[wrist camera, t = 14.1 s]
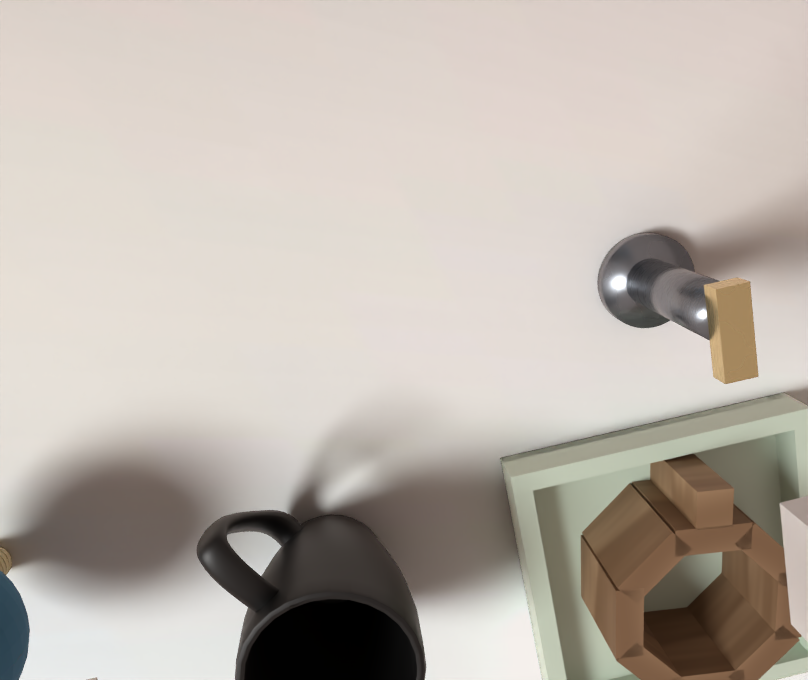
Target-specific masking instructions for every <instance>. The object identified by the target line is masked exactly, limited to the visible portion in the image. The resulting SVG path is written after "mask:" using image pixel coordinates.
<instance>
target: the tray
mask: <svg viewBox="0 0 808 680" xmlns="http://www.w3.org/2000/svg"><path fill="white" fill-rule="evenodd" d="M688 454H695V455H696V456H697V457H698V458H699V459H700V460H702V461H703V462H704V463H705V464H706V465H708V466H709V467H710V468H711V469H712V470H713V471H715V472H716V473H717V474H718V475H719V476H720V477H722V478H723V479H724V480H725V481H726V482H727V483H729V484H730V485H731V486H732V487H733V488H734V502H733V503H734V504H735V505H736V506H737V507H738V508H739V509H740V510H742V511H743V512H744V513H745V514H746V515H747V516H748V517H749V518H751V519H752V520H753V521H754V522H755V523H756V524H757V525H758V526H760V527H761V528H762V529H763V530H764V531H765V532H766V533H767V534H768V535H770V536H771V537H772V538H773V539H774V540H775V541H776V542H777V543H779V544H780V545H781V546H782V547H783V548H784V544H783V534H782V523H781V512H780V503H781V502H785V501H789V500H793V499H797V498H801V497H805V496H808V405H806V404H804V403H802V402H800V401H798V400H797V399H795V398H793V397H791V396H789V395H787V394H786V393H781V394H776V395H772V396H768V397H763V398H759V399H755V400H750V401H746V402H742V403H737V404H733V405H729V406H724V407H720V408H716V409H711V410H707V411H703V412H698V413H694V414H690V415H685V416H681V417H677V418H672V419H668V420H664V421H659V422H655V423H651V424H646V425H642V426H638V427H633V428H629V429H625V430H620V431H616V432H612V433H607V434H603V435H599V436H594V437H590V438H586V439H581V440H577V441H573V442H568V443H564V444H560V445H555V446H551V447H547V448H542V449H538V450H534V451H529V452H525V453H521V454H516V455H512V456H508V457H503V458H500V459H501V464H502V469H503V475H504V480H505V485H506V491H507V496H508V501H509V507H510V512H511V517H512V522H513V528H514V533H515V538H516V544H517V549H518V554H519V560H520V565H521V570H522V576H523V581H524V586H525V591H526V597H527V602H528V607H529V613H530V618H531V623H532V629H533V634H534V639H535V644H536V650H537V655H538V660H539V666H540V671H541V676H542V680H640V679H639V678H638V677H636V676H635V675H634V674H633V673H631V672H630V671H629V670H627V669H626V668H625V667H624V666H622V665H621V664H620V663H618V662H617V661H616V659H615V657H614V655H613V653H612V652H611V650H610V648H609V646H608V644H607V643H606V641H605V639H604V637H603V635H602V633H601V632H600V630H599V628H598V626H597V624H596V622H595V621H594V619H593V617H592V615H591V613H590V612H589V610H588V608H587V606H586V604H585V602H584V601H583V599H582V597H581V535H583V534H582V532H583V531H584V530H585V529H586V528H587V527H588V525H589V524H590V523H591V522H592V521H593V520H594V519H595V518H596V517H597V516H598V515H599V514H600V513H601V512H602V511H603V510H604V509H605V508H606V507H607V506H608V505H609V504H610V503H611V502H612V501H613V500H614V499H615V498H616V497H617V495H618V494H619V493H620V492H621V491H622V490H623V489H624V488H625V487H626V486H627V485H628V484H629V483H630V484H631V485H632V482H635V481H645V480H650V463H654V462H658V461H663V460H667V459H671V458H675V457H680V456H684V455H688ZM721 573H722V552H717V553H708V554H698V555H689V556H684V557H683V558H682V559H681V560H680V561H679V562H678V563H677V564H676V565H675V566H674V567H673V568H672V569H671V570H670V571H669V572H668V573H667V574H666V575H665V576H664V577H663V578H662V579H661V580H660V581H659V582H658V583H657V584H656V585H655V586H654V587H653V588H652V589H651V590H650V591H649V592H648V593H647V594H646V595H645V596H644V612H649V611H658V610H667V609H676V608H684V607H688V606H689V605H690V604H691V603H692V602H693V601H694V600H695V599H696V598H697V597H698V596H699V595H700V594H701V593H702V592H703V591H704V590H705V589H706V588H707V587H708V586H709V585H710V584H711V583H712V582H713V581H714V580H715V579H716V578H717V577H718V576H719V575H720V574H721ZM806 672H808V642H807V641H806V640H805V639H804V637H803V636H802V635H801V637H799V641H798V642H797V643H796V644H795V645H794V646H793V647H792V648H791V649H790V650H789V651H788V652H787V653H786V654H785V655H784V656H783V657H782V658H781V659H780V660H779V661H778V662H776V663H775V664H774V665H773V666H772V667H771V668H770V669H769V670H768V671H767V672H766V673H765V674H764V675H763V676H762V677H761V678H760V679H759V680H777V679H781V678H785V677H790V676H794V675H798V674H802V673H806Z"/></svg>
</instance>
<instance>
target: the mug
mask: <svg viewBox="0 0 808 680" xmlns="http://www.w3.org/2000/svg"><path fill="white" fill-rule="evenodd" d="M245 531H255V532H261V533H264V534H267V535H269V536H271V537H272V538H273V539H275V540H276V541H277V542H278V543H279V544H280V545H281V546H282V547H281V548H280V549H279V551H278V552H277V553H276V554H275V556H274V557H273V559H272V561H271V562H270V564H269V565H268V567H267V568H266V570H265V572H264V573H263V575H262V576H260V575H259V574H258V573H256V572H255V571H254V570H253V569H252V568H251V567H249V566H248V565H247V564H246V563H245V562H244V561H243V560H242V559H241V558H240V557H239V556H238V555H237V554H236V553H235V551H234V550H233V549H232V548H231V546H230V545H229V543H228V541H227V535H228V534H231V533H236V532H245ZM197 555H198V558H199V560H200V562H201V564H202V565H203V567H204V568H205V570H206V571H207V572H208V573H209V574H210V576H211V577H212V578H213V579H214V580H215V581H216V582H217V583H218V584H219V585H221V586H222V587H223V588H224V589H225V590H226V591H228V592H229V593H230V594H231V595H233V596H234V597H235V598H237V599H238V600H239V601H241V602H242V603H243V604H245V605H246V606H247V607H248V609H247V612H246V615H245V619H244V623H243V628H242V633H241V638H240V643H239V648H238V654H237V659H236V672H235V680H425V673H426V661H425V653H424V646H423V641H422V635H421V629H420V624H419V619H418V614H417V609H416V606H415V604H414V601H413V598H412V596H411V593H410V591H409V588H408V586H407V583H406V581H405V579H404V577H403V575H402V573H401V571H400V569H399V567H398V566H397V564H396V563H395V561H394V560H393V559H392V557H391V556H390V554H389V553H388V552H387V550H386V549H385V548H384V546H383V545H382V544H381V543H380V542H379V540H378V539H377V537H376V536H375V535H374V533H373V532H372V531H371V530H370V529H369V528H368V527H367V526H365V525H364V524H363V523H361V522H359V521H357V520H355V519H353V518H349V517H346V516H341V515H327V516H320V517H317V518H314V519H311V520H309V521H307V522H305V523H304V524H302V525H301V524H300V523H299V522H298V521H297V520H296V519H295V518H293V517H292V516H291V515H289V514H287V513H285V512H281V511H275V510H263V511H250V512H241V513H235V514H231V515H227V516H224V517H222V518H220V519H219V520H217V521H215V522H214V523H213V524H212V525H211V526H210V527H209V528H208V529H207V530H206V531H205V532H204V534H203V535H202V537H201V539H200V540H199V542H198V545H197Z"/></svg>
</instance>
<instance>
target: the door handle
mask: <svg viewBox="0 0 808 680" xmlns="http://www.w3.org/2000/svg"><path fill="white" fill-rule="evenodd" d="M598 291H599V296H600V298H601V301H602V303H603V305H604V306H605V308H606V309H607V310H608V312H609V313H610V314H611V315H613V316H614V317H615V318H617V319H619V320H620V321H622V322H624V323H625V324H628V325H630V326H633V327H638V328H651V327H656V326H659V325H662V324H664V323H666V322H668V321H670V320H671V321H673V322H675V323H677V324H679V325H681V326H683V327H685V328H687V329H689V330H691V331H693V332H694V333H696V334H698V335H700V336H702V337H704V338H706V339H708V340H710V348H711V358H712V367H713V377H714V378H716V379H718V380H719V381H721V382H723V383H724V384H728V383H733V382H737V381H741V380H746V379H750V378H754V377H758V366H757V355H756V344H755V333H754V322H753V310H752V299H751V288H750V282H749V281H746V280H743V279H740V278H732V279H728V280H724V281H718V280H715V279H712V278H709V277H707V276H704V275H701V274H698V273H695V271H694V266H693V263H692V260H691V258H690V256H689V254H688V252H687V251H686V250H685V249H684V247H683V246H682V245H680V244H679V243H678V242H677V241H675V240H673V239H671V238H669V237H666V236H662V235H659V234H655V233H639V234H635V235H631V236H629V237H627V238H625V239H623V240H621V241H620V242H619V243H617V244H616V245H615V246H614V247H613V248H612V249H611V250H610V251H609V252H608V254H607V255H606V257H605V258H604V260H603V262H602V264H601V267H600V270H599V274H598Z"/></svg>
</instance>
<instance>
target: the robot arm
mask: <svg viewBox="0 0 808 680" xmlns="http://www.w3.org/2000/svg"><path fill="white" fill-rule="evenodd" d="M780 512H781V523H782V534H783V544H784V555H785V565H786V576H787V587H788V597H789V608H790V618H791V625H792V626H793V627H794V628H795V629H796V630H797V631H798V632H799V633H800V634H801V635H802V636H803V637H804V639H805V640H806V641H807V642H808V496H805V497H801V498H797V499H793V500H789V501H785V502H781V503H780ZM88 680H98V679H97V677H96V678H92V679H88Z"/></svg>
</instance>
